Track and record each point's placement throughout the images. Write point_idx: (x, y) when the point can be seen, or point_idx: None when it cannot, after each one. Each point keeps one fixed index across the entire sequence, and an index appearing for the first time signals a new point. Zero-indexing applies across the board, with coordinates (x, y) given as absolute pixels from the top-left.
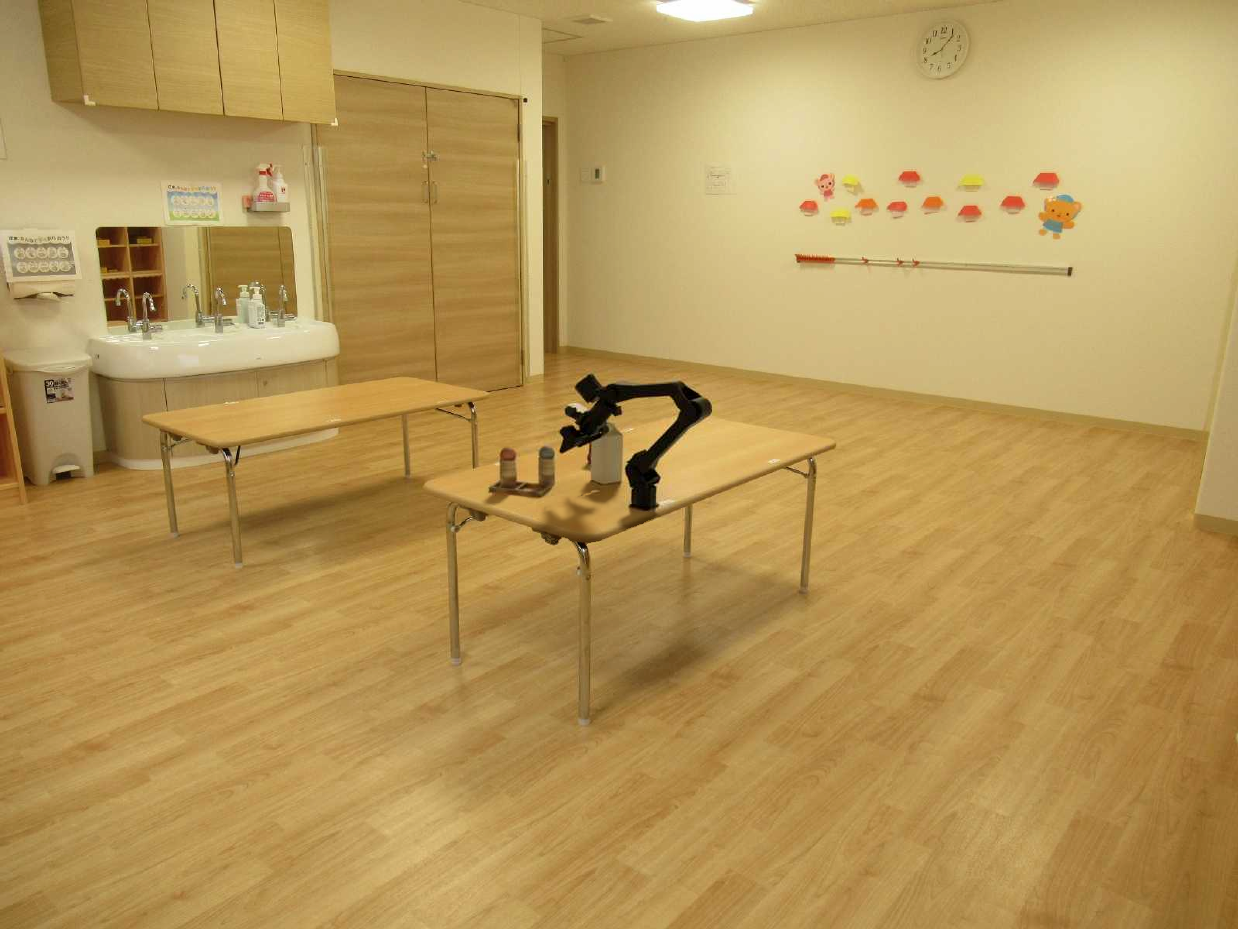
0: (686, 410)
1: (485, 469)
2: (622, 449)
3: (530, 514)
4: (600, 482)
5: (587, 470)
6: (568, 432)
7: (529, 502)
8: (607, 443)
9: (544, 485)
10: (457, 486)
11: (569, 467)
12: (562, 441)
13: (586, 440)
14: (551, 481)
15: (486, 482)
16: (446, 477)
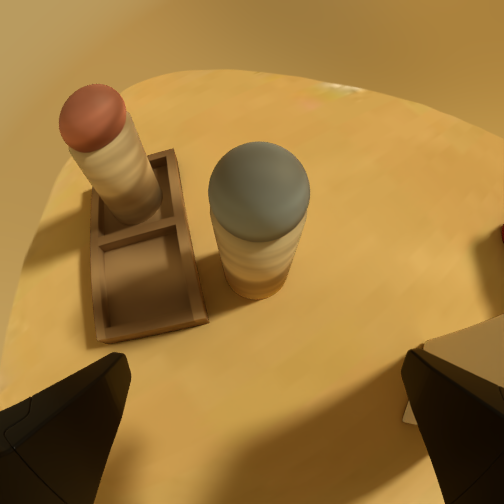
0: None
1: (282, 80)
2: None
3: (7, 379)
4: (408, 403)
5: (473, 265)
6: None
7: (71, 325)
8: None
9: (189, 294)
10: (131, 110)
11: (453, 209)
12: (7, 409)
13: (450, 452)
14: (245, 290)
15: (188, 124)
16: (182, 71)
